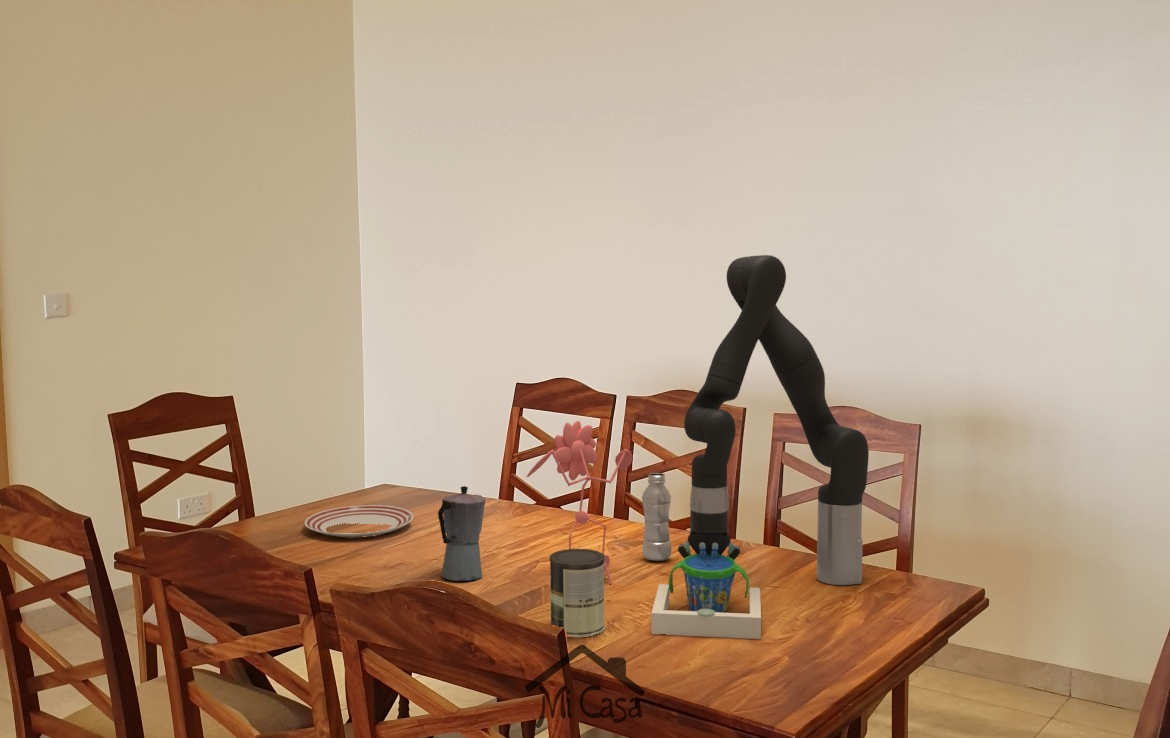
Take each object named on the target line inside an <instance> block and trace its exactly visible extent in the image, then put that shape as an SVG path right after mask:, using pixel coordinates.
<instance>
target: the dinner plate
mask: <svg viewBox="0 0 1170 738" xmlns="http://www.w3.org/2000/svg"><path fill="white" fill-rule="evenodd" d="M414 517H415V516H414V514H413V512H411V511H410V510H409V509H406V508H402V507H399V506H393V505H383V504H365V505H363V504H362V505H349V506H342V507H336V508H329V509H325V510H322V511H320V512H319V511H318V512H316V513H313V514H312V515H310V516H308V517H307V518H306V519H305V521H304V526H305V527H306V528H307V529H309V530H311V531H313V532H316V533H318V534H319V533H320V534H323V535H326V536H329V535H330V537H333V536H338V537H337V538H339V537H363V536H373V535H379V534H383V535H385V534H384V533H387V534H389V533H391V532H394V531H396V530H399V529H402V528H404V527H405V526H407V525H408V524H410V523H411V522H412V521H413V519H414ZM342 523H343V524H344V523H346V524H348V523H349V524H355V523H356V524H357V523H358V524H359V523H360V524H376V525H377V524H381V525H383V524H387V525H392V526H391V527H390V528H389V529H387V530H382V531H376V532H367V533H329V532H327V531H326V528H327V527H329V526H330V527H331V526H332V525H333V526H334V525H337V524H338V525H339V524H342ZM388 532H389V533H388ZM379 536H380V535H379ZM373 537H374V536H373Z"/></svg>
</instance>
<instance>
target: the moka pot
mask: <svg viewBox="0 0 1170 738" xmlns="http://www.w3.org/2000/svg"><path fill="white" fill-rule="evenodd" d="M468 488H469V487H468V486H466V485H465V486H460V492H461V493H458V494H451V495H446V496H445V497H443V498H442V500H441V502H442V504H441V507H440V508H439V509H438V512H437V516H438V520H439V526H440V531H441V537H442V543H444V544H446V545H445V553H444V558H443V563H442V569H441V577H442V578H443V579H446V580H449V581H456V582H466V581H475V580H479V579H480V578H482V577H483V571H482V562H481V551H480V543H479V541H480V535H481V532H482V529H483V527H482V526H483V519H484V513H485V507H486V506H485V504H486V498H485V497H483V496H482V495H480V494H471V493H470V494H469V493H468Z"/></svg>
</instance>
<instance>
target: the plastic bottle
mask: <svg viewBox="0 0 1170 738" xmlns="http://www.w3.org/2000/svg"><path fill="white" fill-rule="evenodd" d="M647 483H649V484H648V486H647V487H646V488H645V489H644V491H643V493H642V496H641V500H642V508H643V513H644V514H643V516H644V536H643V542H642V555H643V556H644V558H645V560H649V561H653V562H654V561H655V562H662V561H667V560H669V558H670V557H671V554H672V543H671V539H670V529H669V520H670V519H669V518H670V507H671V502H672V501H671V499H672V496H671V494H670V492H669V490H668V489H667V487H666V485H665V483H666V474H665V473H662V472H651V473H649V474H648V480H647Z"/></svg>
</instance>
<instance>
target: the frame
mask: <svg viewBox="0 0 1170 738" xmlns="http://www.w3.org/2000/svg"><path fill="white" fill-rule="evenodd" d="M669 606H670V590H669V583H668V584H666V583H658V587H657V592H656V594H655V598H654V603H653V607H652V610H651V615H650V616H651V619H650V620H651V629H650V630H651V631H650V632H651V635H660V634H666V635H665V636H682V635H683V636H685V637H705V638H706V637H709V638H710V637H711V638H728V639H729V638H732V639H750V640H761V639H762V637H761V636H762V613H761V612H762V611H761V610H762V609H761V588H760V587H749V611H748V612H749V613H739V612H737V613H736V612H725V613H719V612H715V611H714V610H711V609H700V610H698V611H697V612H696V611H691V610H669Z"/></svg>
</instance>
